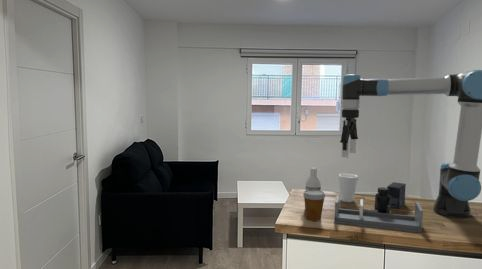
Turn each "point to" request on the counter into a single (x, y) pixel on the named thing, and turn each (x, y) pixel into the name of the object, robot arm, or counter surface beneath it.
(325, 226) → the counter surface
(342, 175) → the foam cup
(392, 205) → the small box
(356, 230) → the counter surface
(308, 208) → the disposable coffee cup
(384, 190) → the supplement bottle
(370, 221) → the tray
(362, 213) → the pusher
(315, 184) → the bath foam
